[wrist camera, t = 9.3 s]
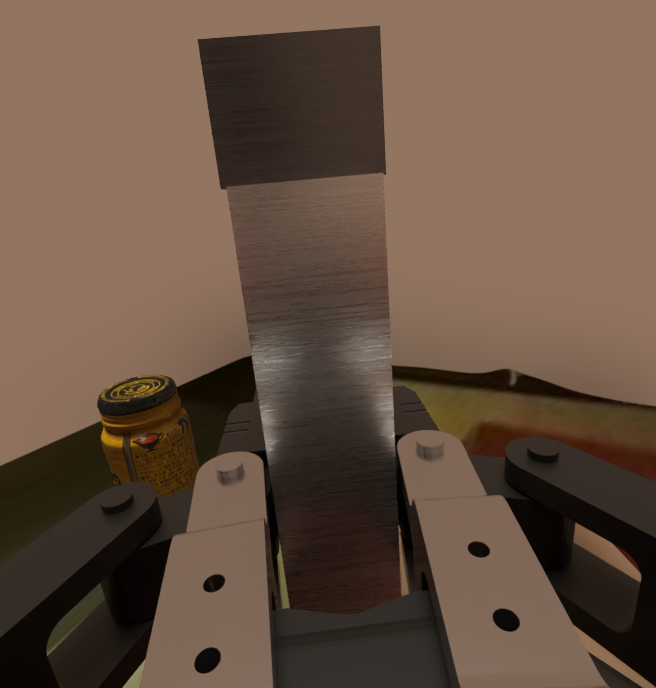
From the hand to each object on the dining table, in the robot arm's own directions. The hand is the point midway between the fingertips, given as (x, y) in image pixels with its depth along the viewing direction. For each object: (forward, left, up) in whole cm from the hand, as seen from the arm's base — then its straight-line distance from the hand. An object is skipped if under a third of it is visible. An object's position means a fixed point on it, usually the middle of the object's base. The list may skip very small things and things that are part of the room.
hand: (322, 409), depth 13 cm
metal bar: (+1, -3, -10) cm, 10 cm away
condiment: (-16, +15, -18) cm, 28 cm away
